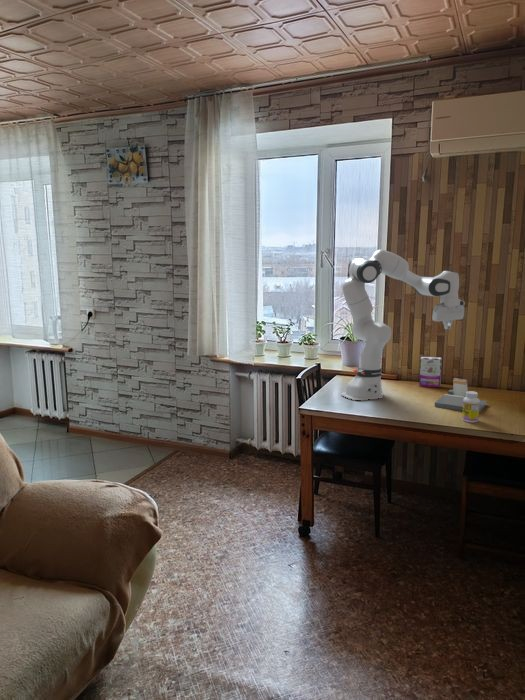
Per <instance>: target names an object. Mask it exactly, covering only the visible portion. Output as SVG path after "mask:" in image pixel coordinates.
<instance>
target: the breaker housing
mask: <svg viewBox="0 0 525 700" xmlns="http://www.w3.org/2000/svg"><path fill="white" fill-rule="evenodd" d="M447 392H448V393H445V394H443V396H441V397H440V398H439V399H438V400H436V401H435V402H434V407H436V408H442V409H447V410H454V411H461V412H463V399H464V398H465V397H463V396H456V395H454V389H449V390H448V391H447ZM479 400H480V399H479ZM486 406H487V400H480V404H479V414H480V413H481V412H482V411H483V409H485V407H486Z"/></svg>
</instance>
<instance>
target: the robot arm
mask: <svg viewBox="0 0 525 700" xmlns="http://www.w3.org/2000/svg"><path fill="white" fill-rule="evenodd" d="M347 266H348V267H347V278H348V279H346V280H345V281H344V282H343V283H342V285H341V288H342V293H343V297H344V299H345V302H346V305H347V306H348V309H349V311H350V314H351V317H352V321H353V325H352V327H351V332H352V335H353V336H354V337H355V338H357V339H359V340H360V341H364V342H365V345H364V348H363V350H361V351H360V353H359V364H358V365H359V367H358V369H356V368H353V369H352V373H353V374H354V373H355V376H354V377H353V378H352V379H351V380H350V381H349V382H348V383H347V384H346V385H345V391H343V392H341V395H342V396H341V395H340V396H341V397H343V396H344V397H343V398H345V397H346V398H345V399H347V398H348V400H351V399H352V401H355V400H361V401H369V400H368V399H370V400H377V399H378V398H379V399H383V398H384V392H383V387H382V379H381V378H382V375H383V374H382V373H383V372H382V370H383V369H382V355H383V350H384V348H385V345H386V344H387V343H388V342H389V341H390V340H391V338H392V329H391V327H390V326H389V325H388V324H385V323H384V322H380V321H376V320H374V319H373V317H372V312H373V310H374V306H373V304H372V302H371V300H370V298H369V295H368V293H367V291H366V288H365V287H366V286H365V284H370V283H373V282H375V281H376V280H377V278H378V277H379V275H380V274H383V275H386V276H387V277H389V278H392V279H394V280H396V281H397V280H399V281H401V282H403V283H405V284H407V285H408V286H410V287H412V288H413V289H414V291H415V292H416V293H417V294H418V295H420V296H423V297H427V296H428V297H436V298H437V297H440V298H439V302H438V303H436V304H434V308H433V310H432V315H431V317H432V321H433V322H442V324H443V329H444V330H451V328H452V325H453V321H457V320H458V321H459V320H463V319H464V317H465V304H466V303H465V301H464V300H461V299H460V298H459V289H460V276H459V272H456V271H454V270H443V271H442V272H441V273H440V274H438V275H435V276H432V277H430V276H423V275H421V276H420V275H418V274H416V273H414V272H412V271H410V265H409V262H408V261H407V260H406V259H405V258H403V256H400V255H399V254H396V253H393V252H391V251H389V250H384V249H377V250H376V251H375V252H374V253H373V254H372V256H371V257H370V258H365V257H362V256H356V257H354V258H352V259H351V260H350V261H349V262H348V265H347ZM379 399H378V400H379Z"/></svg>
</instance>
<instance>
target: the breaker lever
mask: <svg viewBox="0 0 525 700" xmlns="http://www.w3.org/2000/svg"><path fill="white" fill-rule="evenodd" d="M452 384H453V386H452V387H453V388H452V390H454V395H456V396H463V397H466V392H467V391H469V390H468V379H465V378H456V377H454V378H453V380H452Z"/></svg>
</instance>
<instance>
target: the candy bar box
mask: <svg viewBox="0 0 525 700" xmlns="http://www.w3.org/2000/svg"><path fill="white" fill-rule="evenodd" d="M419 359H420V360H419V383H418V384H419V385H418V386H419V387H421V386H426V387H425V388H434V387H439V388H438V389H440V388H441V382H442V362H443V361H442V360H443V359H442V357H440V356H439V357H436V356H435V357H434V356H420V358H419Z"/></svg>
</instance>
